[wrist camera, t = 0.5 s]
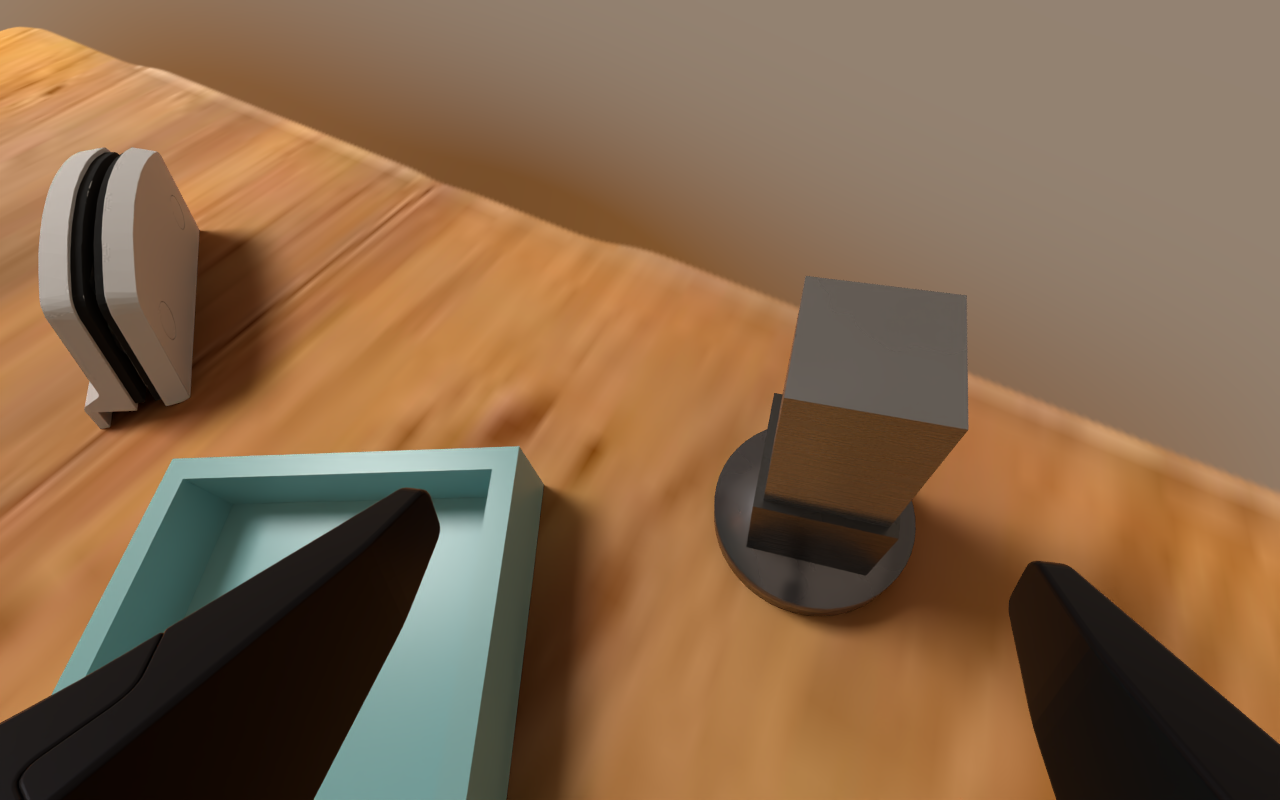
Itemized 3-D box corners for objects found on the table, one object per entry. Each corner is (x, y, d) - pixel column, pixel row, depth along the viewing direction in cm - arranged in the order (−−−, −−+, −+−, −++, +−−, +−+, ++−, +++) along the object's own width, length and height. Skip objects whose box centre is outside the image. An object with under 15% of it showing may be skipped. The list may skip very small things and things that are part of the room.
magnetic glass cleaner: (129, 251, 40) (45, 111, 33) (208, 247, 42) (146, 113, 34) (99, 434, 31) (-25, 299, 24) (201, 418, 33) (117, 288, 26)
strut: (865, 575, 21) (983, 444, 12) (746, 546, 22) (769, 405, 13) (874, 469, 23) (979, 288, 14) (765, 447, 25) (796, 266, 15)
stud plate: (925, 616, 22) (974, 585, 18) (719, 616, 22) (720, 587, 18) (882, 435, 26) (913, 377, 22) (710, 441, 27) (709, 387, 23)
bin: (489, 940, 18) (438, 985, 15) (56, 914, 20) (-79, 948, 16) (543, 484, 26) (519, 446, 23) (237, 493, 28) (172, 458, 25)
